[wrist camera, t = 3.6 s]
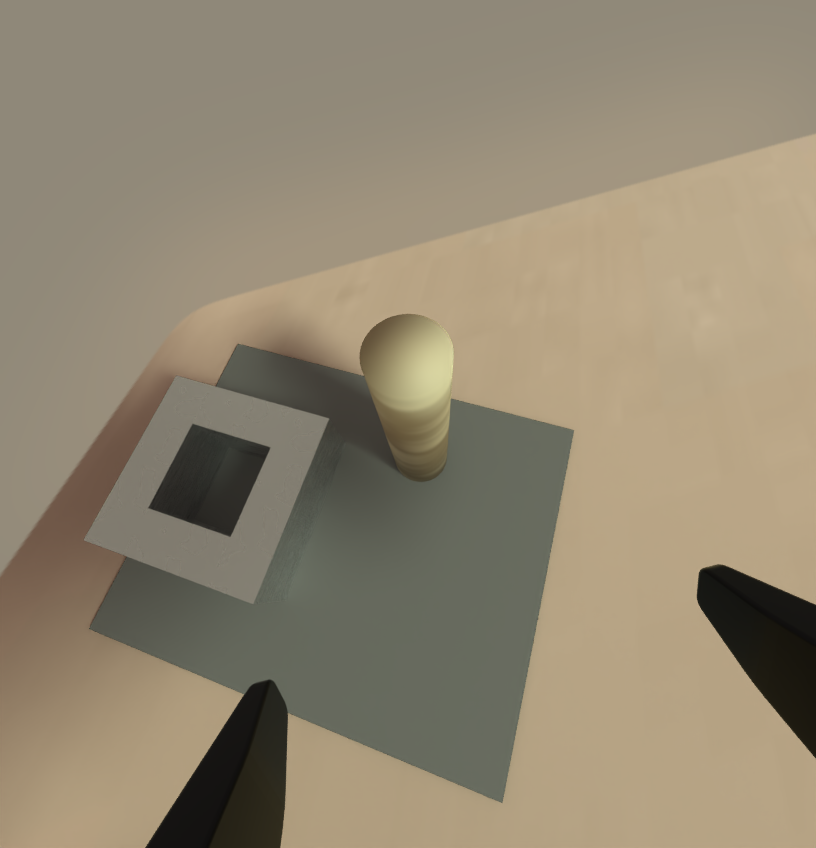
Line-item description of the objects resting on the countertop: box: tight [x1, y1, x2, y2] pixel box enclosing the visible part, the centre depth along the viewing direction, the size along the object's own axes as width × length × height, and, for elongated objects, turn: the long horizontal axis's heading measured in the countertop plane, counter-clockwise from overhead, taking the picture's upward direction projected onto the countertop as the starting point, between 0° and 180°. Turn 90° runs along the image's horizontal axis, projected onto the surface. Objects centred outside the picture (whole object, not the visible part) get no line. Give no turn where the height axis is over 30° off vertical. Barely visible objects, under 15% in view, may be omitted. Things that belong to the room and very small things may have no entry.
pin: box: [360, 314, 454, 482], centre depth 18 cm, size 3×3×12 cm
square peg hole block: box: [84, 376, 346, 604], centre depth 22 cm, size 9×9×4 cm
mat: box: [89, 344, 574, 803], centre depth 23 cm, size 22×18×1 cm
